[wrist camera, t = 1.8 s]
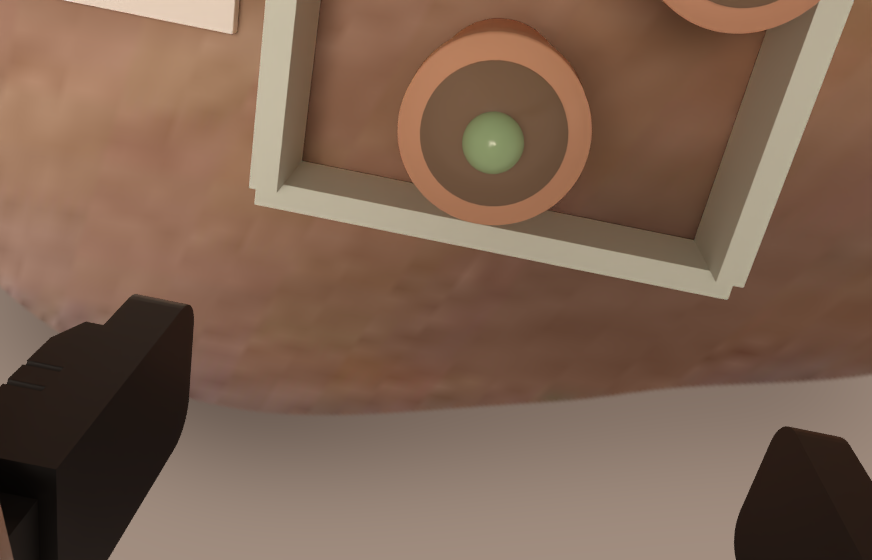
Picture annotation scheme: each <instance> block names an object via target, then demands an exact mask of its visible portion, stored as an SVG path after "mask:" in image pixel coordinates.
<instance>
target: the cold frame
mask: <svg viewBox="0 0 872 560" xmlns="http://www.w3.org/2000/svg"><path fill="white" fill-rule="evenodd" d="M853 2H854V0H820V1H819V2H818V3H817V4H816V5H814V6H813V7H812V8H810V9H809V10H807V11H806V12H805V13H803V14H802V15H800V16H798V17H796V18H794V19H793V20H791V21H789V22H787V23H784V24H782V25H779V26H777V27H774V28H771V29H767V30H766V33H765V36H764V39H763V42H762V45H761V48H760V50H759V53H758V56H757V59H756V62H755V65H754V68H753V71H752V74H751V76H750V79H749V82H748V85H747V88H746V91H745V94H744V97H743V100H742V102H741V105H740V108H739V111H738V114H737V117H736V120H735V123H734V126H733V128H732V131H731V134H730V137H729V140H728V143H727V146H726V149H725V152H724V154H723V157H722V160H721V163H720V166H719V169H718V172H717V175H716V178H715V180H714V183H713V186H712V189H711V192H710V195H709V198H708V201H707V204H706V207H705V209H704V212H703V215H702V218H701V221H700V224H699V227H698V230H697V233H696V235H695V238H694V240H691V239H686V238H681V237H676V236H671V235H666V234H661V233H657V232H652V231H647V230H642V229H637V228H632V227H627V226H622V225H617V224H612V223H607V222H602V221H597V220H592V219H587V218H582V217H578V216H573V215H568V214H563V213H558V212H553V211H548V210H546V211H545V212H543V213H541V214H539V215H537V216H535V217H533V218H530V219H527V220H524V221H521V222H517V223H513V224H506V225H482V224H475V223H471V222H467V221H463V220H461V219H458V218H456V217H453V216H451V215H449V214H447V213H446V212H444V211H442V210H440V209H439V208H438V207H436V206H435V205H434V204H432V203H431V202H430V201H429V200H428V199H427V198H426V197H425V196H423V195H422V193H421V192H420V191H419V190H418V188H417V187H416V186H415V185H414V183H410V182H405V181H400V180H395V179H390V178H385V177H380V176H375V175H370V174H365V173H360V172H355V171H350V170H345V169H340V168H336V167H331V166H326V165H321V164H316V163H311V162H306V161H302V157H303V149H304V140H305V132H306V123H307V115H308V106H309V98H310V89H311V80H312V72H313V63H314V55H315V46H316V38H317V29H318V21H319V12H320V4H321V0H266V2H265V14H264V25H263V36H262V47H261V58H260V70H259V81H258V92H257V103H256V114H255V126H254V137H253V148H252V159H251V170H250V182H249V188H252V189H256V193H255V203H254V204H255V205H260V206H265V207H270V208H275V209H280V210H285V211H290V212H295V213H300V214H305V215H310V216H315V217H320V218H325V219H330V220H334V221H339V222H344V223H349V224H354V225H359V226H364V227H369V228H374V229H379V230H384V231H389V232H394V233H399V234H404V235H409V236H414V237H419V238H423V239H428V240H433V241H438V242H443V243H448V244H453V245H458V246H463V247H468V248H473V249H478V250H483V251H488V252H493V253H498V254H503V255H507V256H512V257H517V258H522V259H527V260H532V261H537V262H542V263H547V264H552V265H557V266H562V267H567V268H572V269H577V270H582V271H587V272H591V273H596V274H601V275H606V276H611V277H616V278H621V279H626V280H631V281H636V282H641V283H646V284H651V285H656V286H661V287H666V288H671V289H676V290H680V291H685V292H690V293H695V294H700V295H705V296H710V297H715V298H720V299H725V300H728V298H729V295H730V292H731V290H732V287H733V286H736V287H741V288H744V285H745V283H746V280H747V277H748V275H749V272H750V270H751V267H752V264H753V262H754V259H755V257H756V254H757V251H758V249H759V246H760V244H761V241H762V238H763V236H764V233H765V231H766V228H767V225H768V223H769V220H770V218H771V215H772V212H773V210H774V207H775V205H776V202H777V199H778V197H779V194H780V192H781V189H782V186H783V184H784V181H785V179H786V176H787V173H788V171H789V168H790V166H791V163H792V160H793V158H794V155H795V153H796V150H797V147H798V145H799V142H800V140H801V137H802V134H803V132H804V129H805V127H806V124H807V121H808V119H809V116H810V114H811V111H812V108H813V106H814V103H815V101H816V98H817V95H818V93H819V90H820V88H821V85H822V82H823V80H824V77H825V75H826V72H827V69H828V67H829V64H830V62H831V59H832V56H833V54H834V51H835V49H836V46H837V43H838V41H839V38H840V36H841V33H842V30H843V28H844V25H845V23H846V20H847V17H848V15H849V12H850V10H851V7H852V4H853Z"/></svg>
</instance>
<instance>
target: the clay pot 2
mask: <svg viewBox="0 0 872 560" xmlns="http://www.w3.org/2000/svg"><path fill="white" fill-rule="evenodd" d="M661 1H663V2H664V3H665V4H666V5H667V6H668V7H670V8H671V9H672V10H673V11H675V12H676V13H677V14H679V15H680V16H682V17H683V18H685V19H686V20H688V21H690V22H691V23H693V24H696V25H698V26H700V27H702V28H705V29H709V30H713V31H716V32H723V33H730V34H745V33H752V32H759V31H763V30H767V29H771V28H774V27H777V26H779V25H782V24H784V23H787V22H789V21H791V20H793V19H794V18H796V17H798V16H800V15H802V14H803V13H805V12H806V11H807V10H809V9H810V8H812V7H813V6H814V5H816V4H817V3H818V2H819V1H820V0H661Z"/></svg>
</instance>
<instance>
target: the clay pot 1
mask: <svg viewBox="0 0 872 560" xmlns="http://www.w3.org/2000/svg"><path fill="white" fill-rule="evenodd" d="M397 131H398V144H399V150H400V154H401V158H402V161H403V164H404V166H405V168H406V171H407V173H408V175H409V177H410V178H411V180H412V181H413V183H414V185H415V186H416V187H417V188H418V190H419V191H420V192H421V193H422V195H423V196H425V197H426V198H427V199H428V200H429V201H430V202H431V203H432V204H434V205H435V206H436V207H438V208H439V209H440V210H442V211H444V212H446V213H447V214H449V215H451V216H453V217H456V218H458V219H461V220H463V221H467V222H471V223H475V224H482V225H506V224H513V223H517V222H521V221H524V220H527V219H530V218H533V217H535V216H537V215H539V214H541V213H543V212H545V211H546V210H548V209H549V208H550V207H552V206H553V205H555V204H556V203H557V202H558V201H559V200H561V199H562V198H563V197H564V196H565V195H566V194H567V192H568V191H569V190H570V189H571V188H572V187H573V185H574V184H575V182H576V181H577V179H578V178H579V176H580V174H581V172H582V170H583V168H584V166H585V163H586V160H587V157H588V155H589V150H590V145H591V137H592V122H591V114H590V109H589V104H588V101H587V99H586V96H585V93H584V90H583V87H582V85H581V82H580V80H579V78H578V76H577V74H576V72H575V71H574V69H573V68H572V66H571V65H570V64H569V62H568V61H567V60H566V59H565V58H564V57H563V56H562V54H561V53H560V52H559V51H557V50H556V49H555V48H554V47H552V46H551V45H550V44H549V43H548V41H547V40H546V39H545V38H544V37H543V36H542V35H541V34H540V33H538V32H537V31H536V30H535V29H533V28H531V27H530V26H528V25H526V24H524V23H521V22H519V21H515V20H511V19H504V18H494V19H487V20H483V21H479V22H476V23H474V24H472V25H469V26H468V27H466V28H464V29H463V30H461V31H460V32H459V33H457V34H456V35H455V36H454V37H453V38H452V39H451V40H449V41H447V42H446V43H444V44H442V45H441V46H440V47H439V48H437V49H436V50H435V51H434V52H432V53H431V55H430V56H429V57H428V58H427V59H426V60H425V61H424V62H423V63H422V65H421V66H420V68H419V69H418V70H417V72H416V74H415V76H414V77H413V79H412V81H411V83H410V85H409V87H408V89H407V90H406V93H405V95H404V98H403V101H402V103H401V107H400V112H399V116H398V127H397Z"/></svg>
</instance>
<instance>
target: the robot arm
mask: <svg viewBox="0 0 872 560" xmlns="http://www.w3.org/2000/svg"><path fill="white" fill-rule="evenodd" d="M193 327H194V314H193V309H192V307H191V306H190V305H188V304H183V303H178V302H173V301H168V300H163V299H158V298H153V297H148V296H143V295H138V294H134V295H132V296H131V297H130V298H129V299H128V300H127V301H126V302H125V303H124V304H123V305H122V306H121V307H120V308H119V309H118V310H117V311H116V312H115V313H114V315H113V316H112V317H111V318H110V319H109V320H108V321H107V322H106V323H105V324H104V325H100V324H95V323H90V322H84V323H82V324H80V325H77V326H75V327H73V328H71V329H69V330H66V331H64V332H62V333H60V334H58V335H55V336H53V337H51V338H50V339H49V340H48V341H47V342H46V343H45V344H43V346H42V347H40V349H38V350H37V351H36V352H35V353H34V354H33V355H32V356H31V357H30V358H29V359H28V360H27V364H26V365H22V366H21V367H20V368H19V369H18V370H17V371H16V372H15V373H14V374H13V375H12V376H10V377H9V379H8V382H7V384H2V385H1V386H0V560H108V558H109V557H110V555H111V553H112V551H113V550H114V548H115V547H116V545H117V543H118V542H119V540H120V538H121V537H122V535H123V533H124V532H125V530H126V528H127V527H128V525H129V523H130V522H131V520H132V518H133V516H134V515H135V513H136V512H137V510H138V508H139V506H140V505H141V503H142V502H143V500H144V498H145V497H146V495H147V493H148V492H149V490H150V488H151V487H152V485H153V483H154V482H155V480H156V478H157V477H158V475H159V473H160V472H161V470H162V468H163V467H164V465H165V463H166V462H167V460H168V458H169V457H170V455H171V454H172V452H173V450H174V448H175V447H176V445H177V443H178V440H179V438H180V435H181V432H182V430H183V426H184V423H185V419H186V415H187V409H188V402H189V388H190V373H191V358H192V342H193ZM734 550H735V557H736V560H872V481H871V479H870V477H869V476H868V475H867V473H866V471H865V470H864V468H863V466H862V464H861V463H860V461H859V460H858V458H857V456H856V455H855V453H854V452H853V450H852V448H851V447H850V445H849V444H848V442H847V441H846V440H845V439H843V438H841V437H837V436H832V435H827V434H822V433H817V432H812V431H807V430H802V429H798V428H792V427H782V428H781V429H779V430H778V431H777V432H776V434H775V435H774V437H773V438H772V440H771V442H770V445H769V447H768V449H767V452H766V454H765V456H764V459H763V461H762V463H761V465H760V468H759V470H758V472H757V474H756V476H755V479H754V481H753V483H752V486H751V488H750V490H749V492H748V495H747V497H746V499H745V501H744V504H743V506H742V508H741V510H740V513H739V516H738V519H737V523H736V528H735V536H734Z"/></svg>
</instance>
